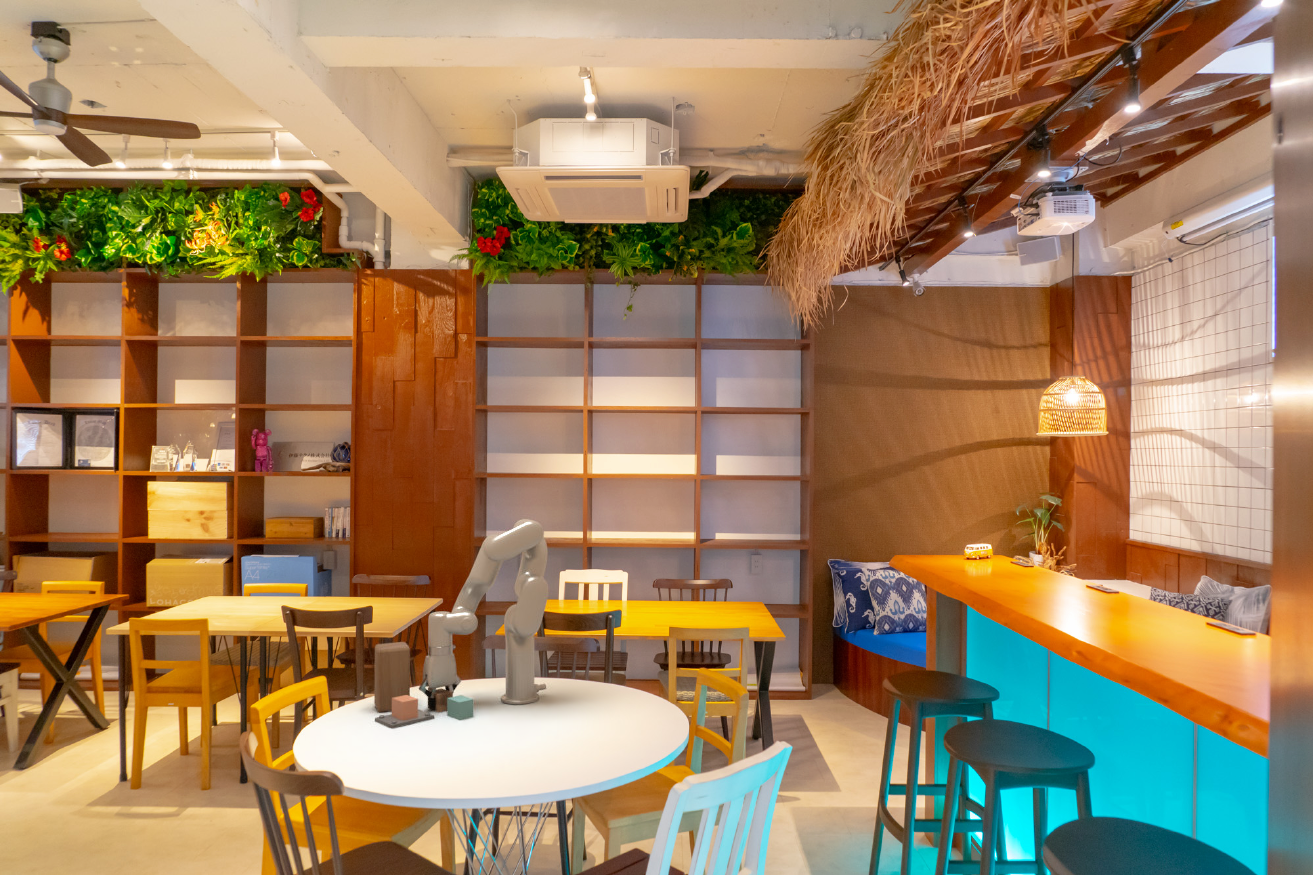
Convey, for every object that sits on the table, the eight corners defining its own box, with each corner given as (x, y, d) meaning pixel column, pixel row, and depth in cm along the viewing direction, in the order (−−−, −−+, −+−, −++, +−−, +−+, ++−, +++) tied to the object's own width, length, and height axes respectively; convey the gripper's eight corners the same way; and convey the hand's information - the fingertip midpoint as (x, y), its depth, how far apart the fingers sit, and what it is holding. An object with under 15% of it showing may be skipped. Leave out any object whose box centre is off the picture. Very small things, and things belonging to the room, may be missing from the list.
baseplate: (416, 711, 263) (416, 690, 263) (434, 718, 255) (434, 697, 255) (374, 721, 253) (374, 699, 253) (391, 728, 245) (392, 706, 245)
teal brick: (461, 712, 262) (461, 695, 262) (473, 717, 257) (473, 699, 257) (447, 715, 258) (447, 698, 258) (459, 720, 253) (459, 702, 253)
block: (374, 705, 271) (374, 643, 271) (405, 701, 275) (405, 641, 276) (377, 713, 261) (378, 649, 262) (410, 709, 266) (410, 646, 267)
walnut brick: (441, 705, 270) (441, 688, 270) (452, 709, 265) (452, 692, 265) (427, 708, 267) (427, 691, 267) (438, 712, 262) (438, 694, 262)
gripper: (457, 645, 275) (457, 700, 275) (410, 653, 263) (410, 711, 263) (469, 648, 270) (469, 704, 269) (422, 656, 258) (422, 715, 257)
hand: (440, 707), depth 266 cm, fingers closed on walnut brick, 4 cm apart
